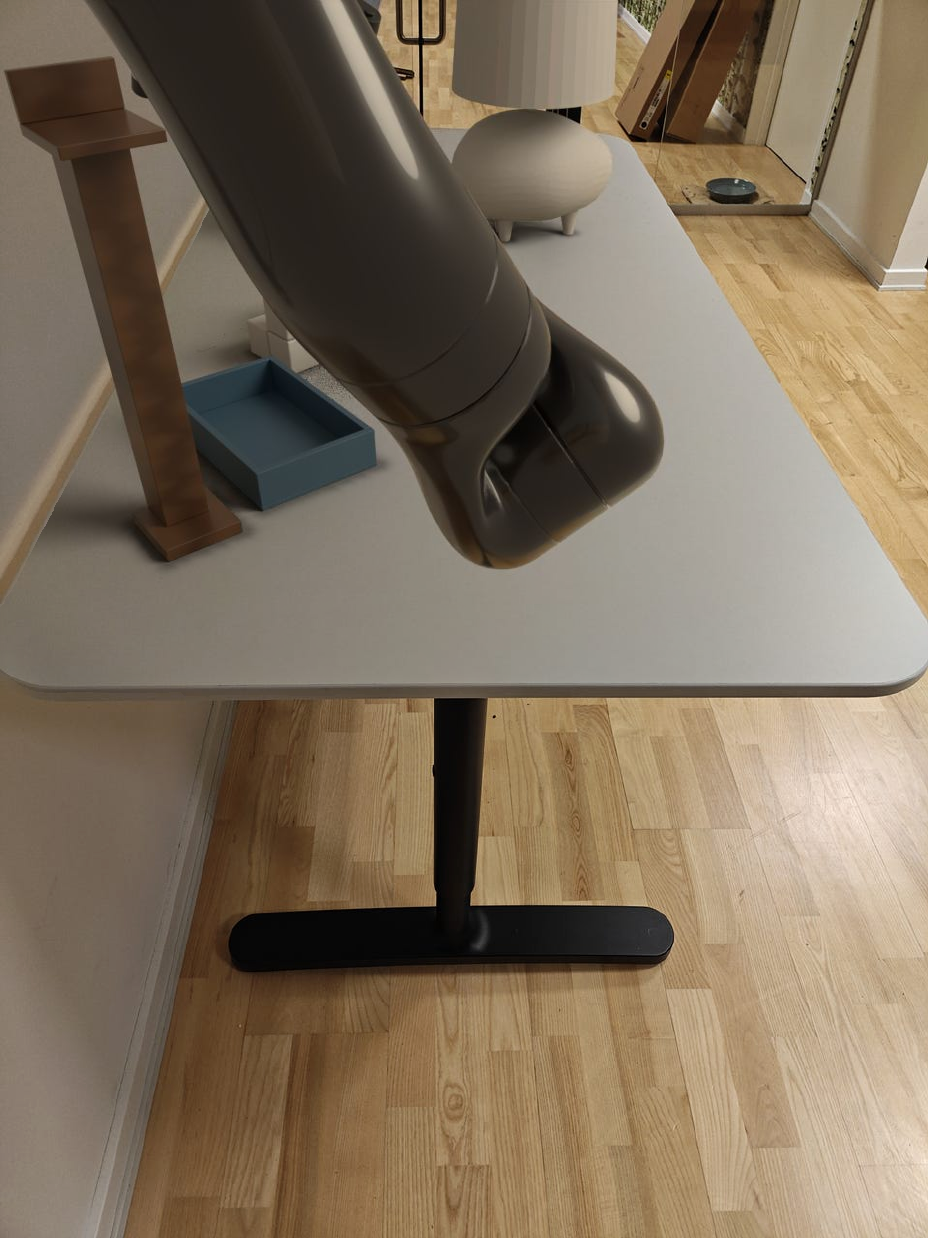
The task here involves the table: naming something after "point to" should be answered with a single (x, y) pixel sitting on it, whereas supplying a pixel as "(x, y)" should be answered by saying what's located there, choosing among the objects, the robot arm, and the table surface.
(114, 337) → the tall wooden pedestal
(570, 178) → the table lamp
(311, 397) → the tray
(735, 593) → the table surface
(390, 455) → the table surface
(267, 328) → the puzzle cube
